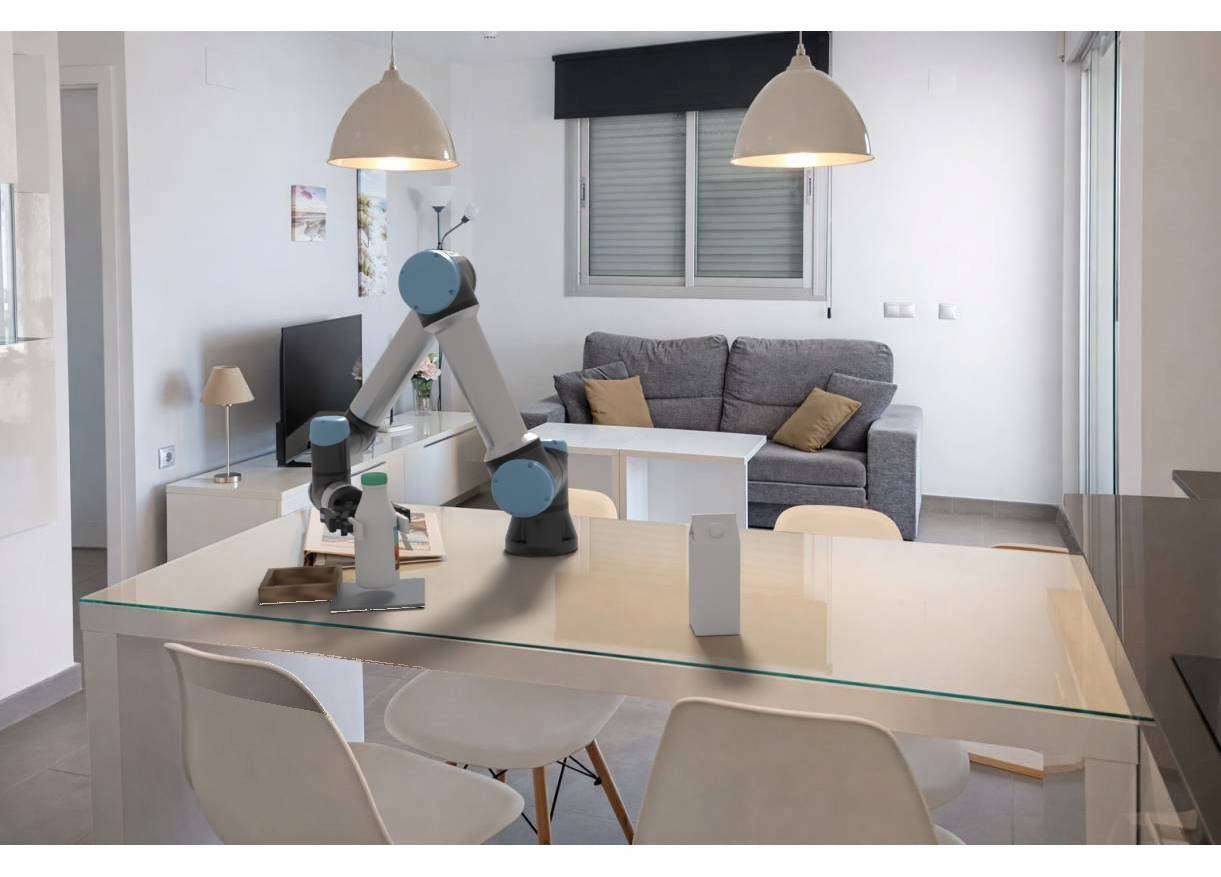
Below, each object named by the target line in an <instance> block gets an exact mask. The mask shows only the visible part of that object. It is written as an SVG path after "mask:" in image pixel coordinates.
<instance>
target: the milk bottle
mask: <svg viewBox="0 0 1221 877" xmlns="http://www.w3.org/2000/svg"><path fill="white" fill-rule="evenodd" d="M360 487H361V488H362V491H363V492H362V497H361V500H360V503H359V505H358V508H357V510H356V513H355V518H354V519H355V520H357V521H358V522H360V523H361V524H363V540H358V539H357V538H355V537H354V536H353V542H354V545H353V546H354V547H353V548H354V570H355V582H356V583H357V585H358V586H359V587H361V588H366V589H382V588H388V587H392V586H395V585H397V584H398V583H399V580H400V579H401V572H400V571H401V570H400V567H401V566H400V543H399V542H400V541H399V530H398V522H397V516H396V512H395V509H394V507H393V505H392V503H393V502H392V503H391V501H392V500H390V497H389V495H388V490H387V487H388V474H387V473H386V472H382V471H380V472H379V471H371V472H365V473H363V474H361V475H360Z"/></svg>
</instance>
